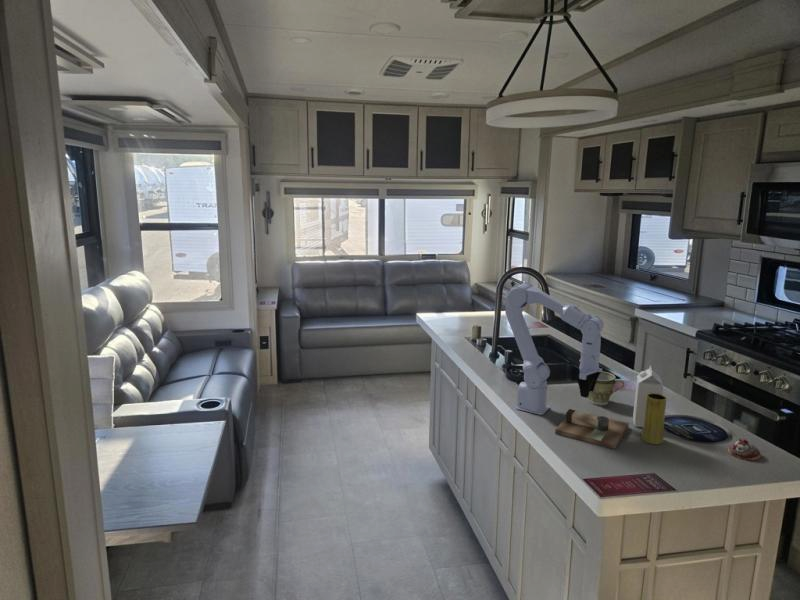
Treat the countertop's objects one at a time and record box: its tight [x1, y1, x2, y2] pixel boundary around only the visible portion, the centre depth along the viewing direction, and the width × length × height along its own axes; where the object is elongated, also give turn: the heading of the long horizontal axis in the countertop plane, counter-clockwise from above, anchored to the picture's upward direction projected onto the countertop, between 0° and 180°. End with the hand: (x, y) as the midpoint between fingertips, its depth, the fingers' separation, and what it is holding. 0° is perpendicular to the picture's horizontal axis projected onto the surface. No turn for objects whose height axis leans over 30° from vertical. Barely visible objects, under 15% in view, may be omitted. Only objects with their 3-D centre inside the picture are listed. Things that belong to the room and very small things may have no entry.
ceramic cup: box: [587, 370, 625, 406], centre depth 194 cm, size 13×10×10 cm
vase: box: [641, 393, 667, 445], centre depth 166 cm, size 6×6×14 cm
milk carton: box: [632, 365, 664, 428], centre depth 176 cm, size 7×7×19 cm
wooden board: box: [554, 411, 630, 450], centre depth 173 cm, size 18×18×2 cm
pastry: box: [727, 438, 762, 462], centre depth 158 cm, size 8×8×5 cm
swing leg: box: [565, 408, 610, 431], centre depth 174 cm, size 13×4×3 cm, turn 56°
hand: (587, 393), depth 179 cm, fingers open, 6 cm apart
